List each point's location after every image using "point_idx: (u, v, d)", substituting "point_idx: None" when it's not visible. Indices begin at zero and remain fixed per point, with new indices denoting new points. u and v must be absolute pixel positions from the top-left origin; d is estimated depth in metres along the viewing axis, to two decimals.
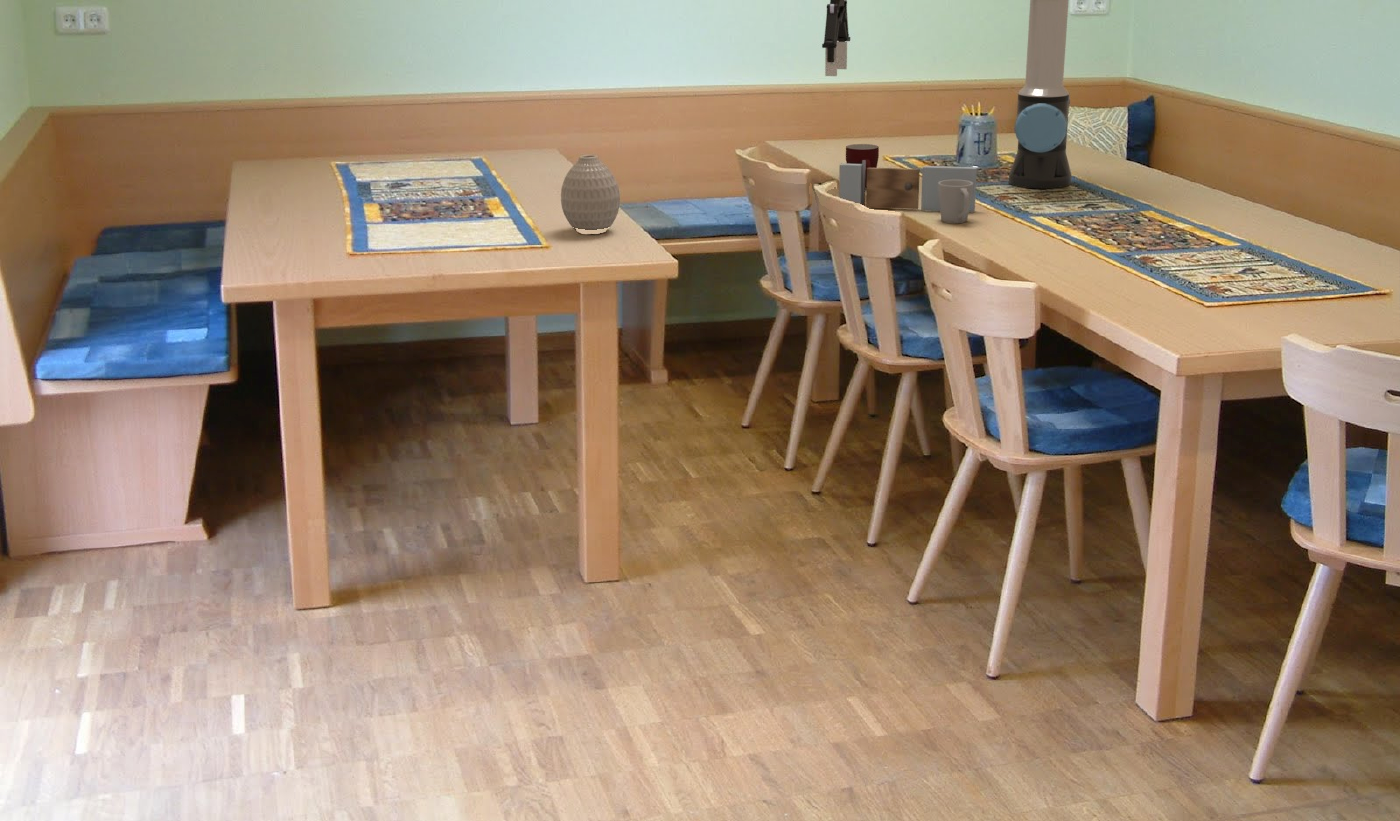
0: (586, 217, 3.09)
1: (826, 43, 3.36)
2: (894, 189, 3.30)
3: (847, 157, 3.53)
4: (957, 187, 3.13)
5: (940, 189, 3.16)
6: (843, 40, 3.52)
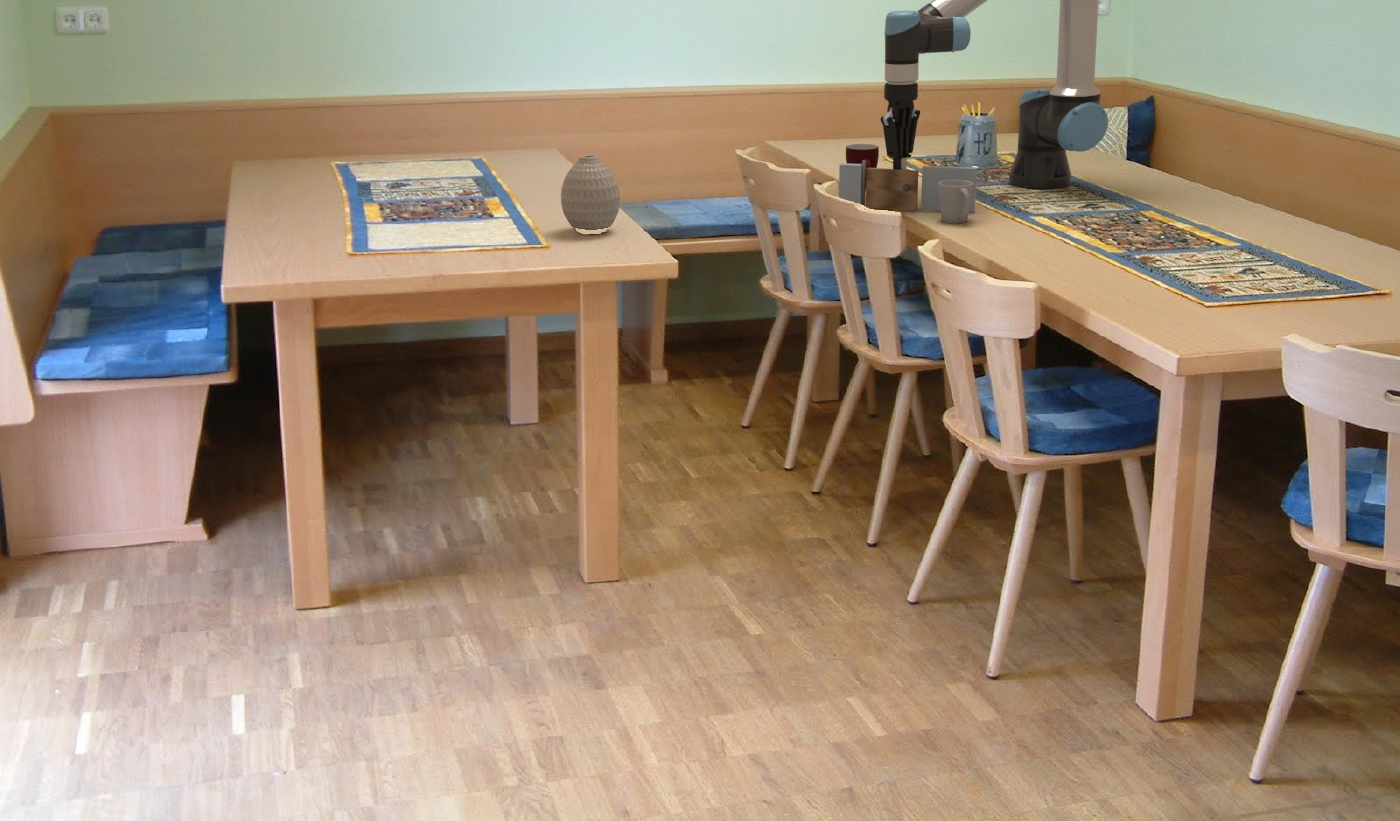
0: (586, 217, 3.09)
1: (889, 155, 3.27)
2: (893, 190, 3.29)
3: (847, 157, 3.53)
4: (957, 187, 3.13)
5: (940, 189, 3.16)
6: (902, 154, 3.29)
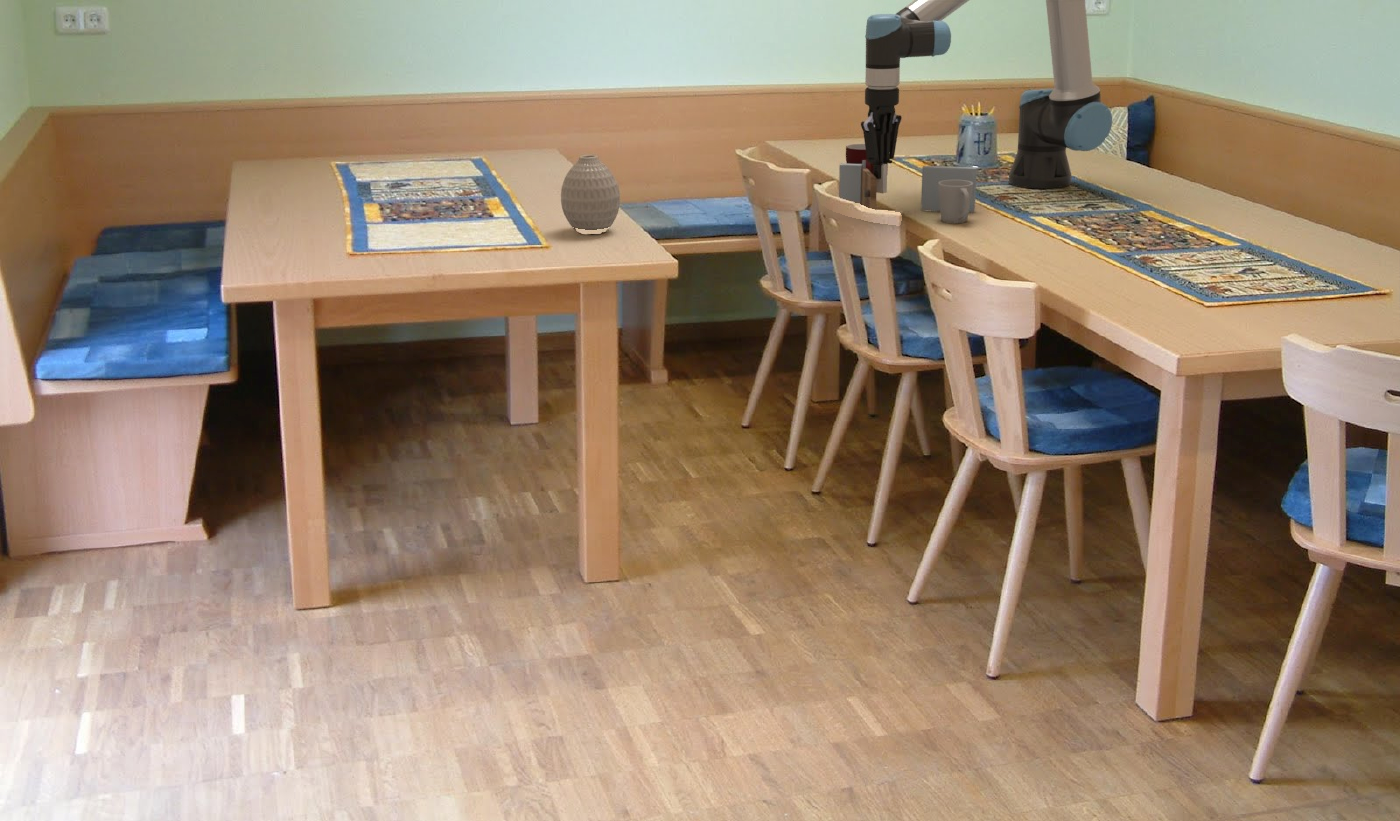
0: (586, 217, 3.09)
1: (869, 161, 3.22)
2: None
3: (847, 157, 3.53)
4: (957, 187, 3.13)
5: (940, 189, 3.16)
6: (883, 160, 3.24)
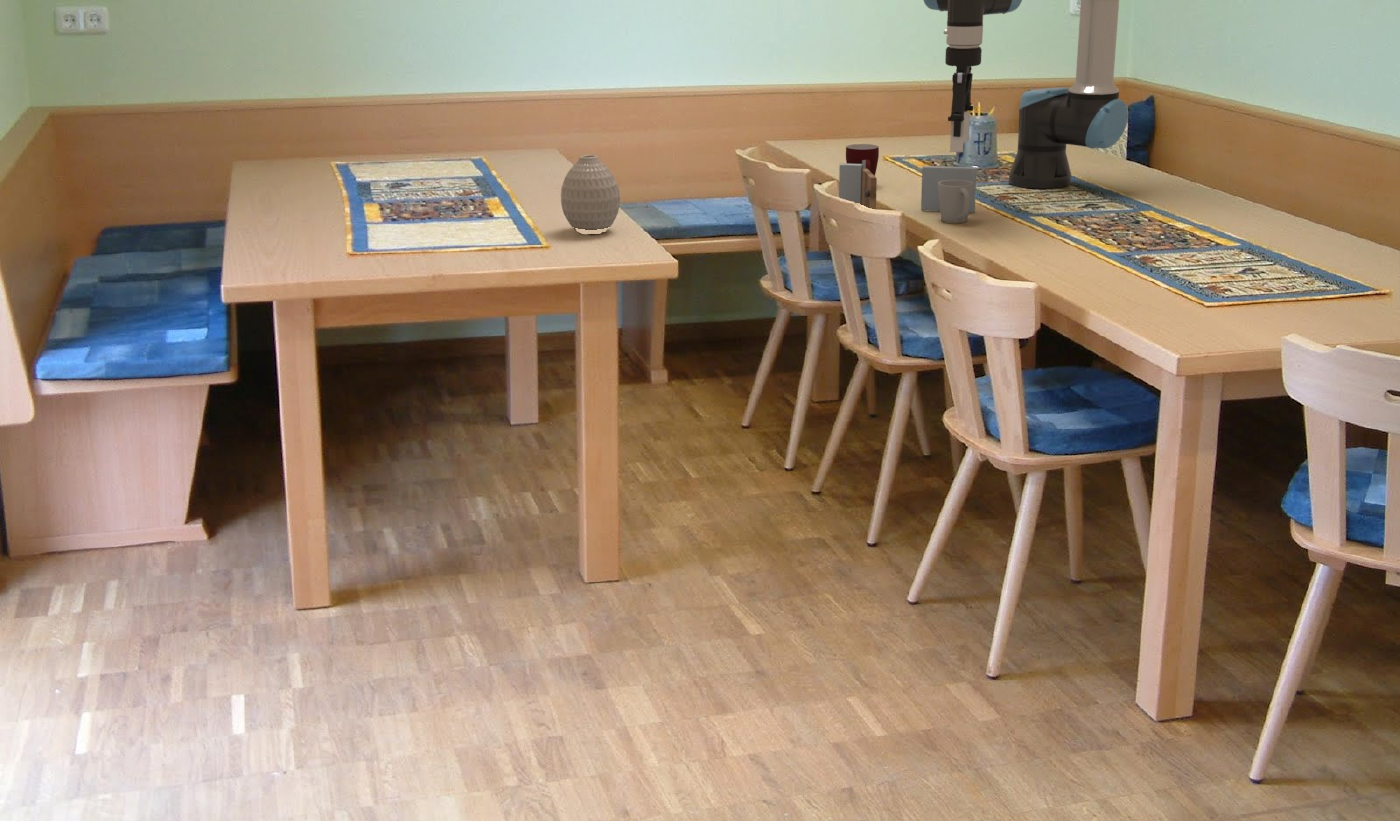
0: (586, 217, 3.09)
1: (953, 116, 3.01)
2: None
3: (847, 157, 3.53)
4: (957, 187, 3.13)
5: (940, 189, 3.16)
6: (965, 109, 3.17)
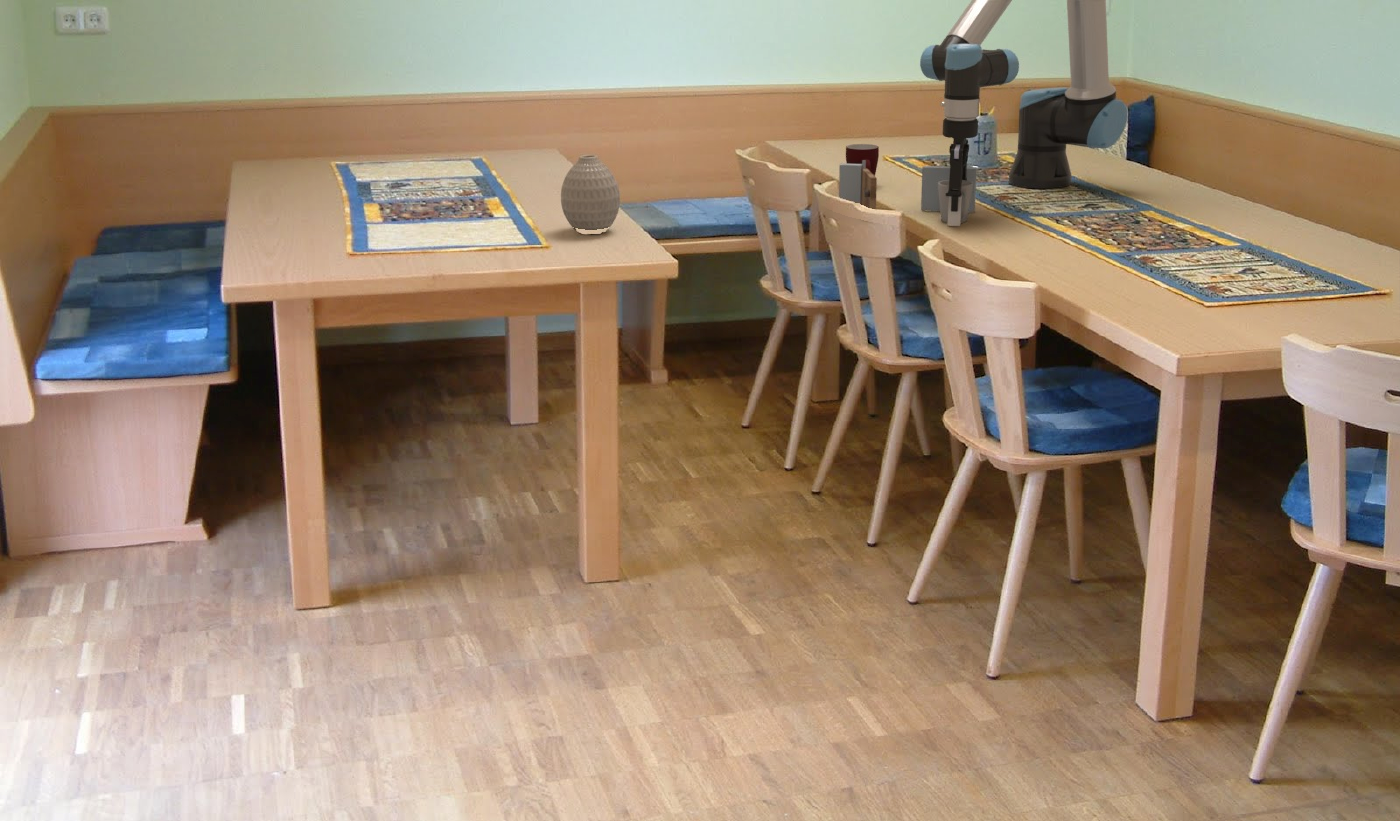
0: (586, 217, 3.09)
1: (951, 193, 3.09)
2: None
3: (847, 157, 3.53)
4: None
5: (940, 189, 3.16)
6: None
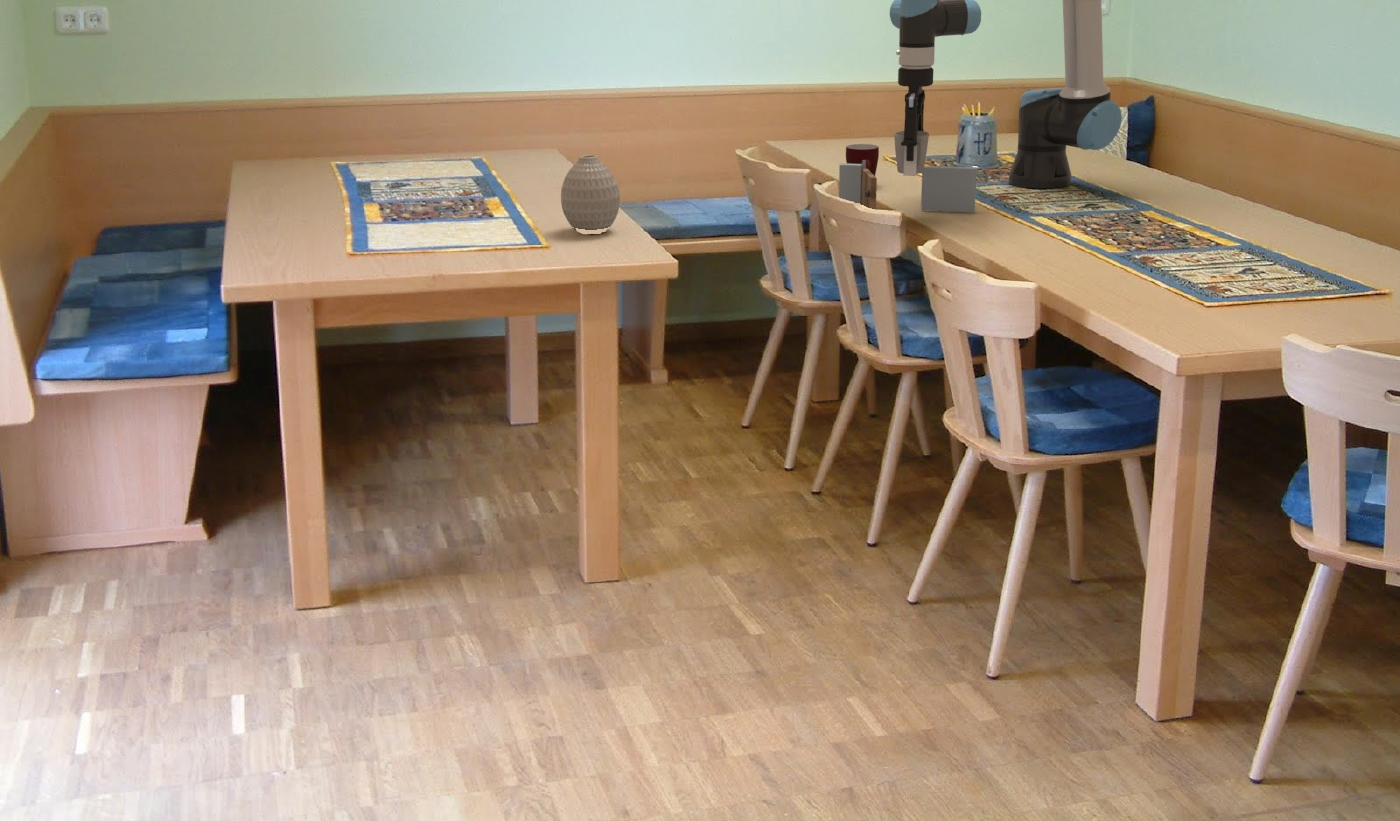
0: (586, 217, 3.09)
1: (906, 142, 3.08)
2: None
3: (847, 157, 3.53)
4: None
5: (896, 139, 3.14)
6: None
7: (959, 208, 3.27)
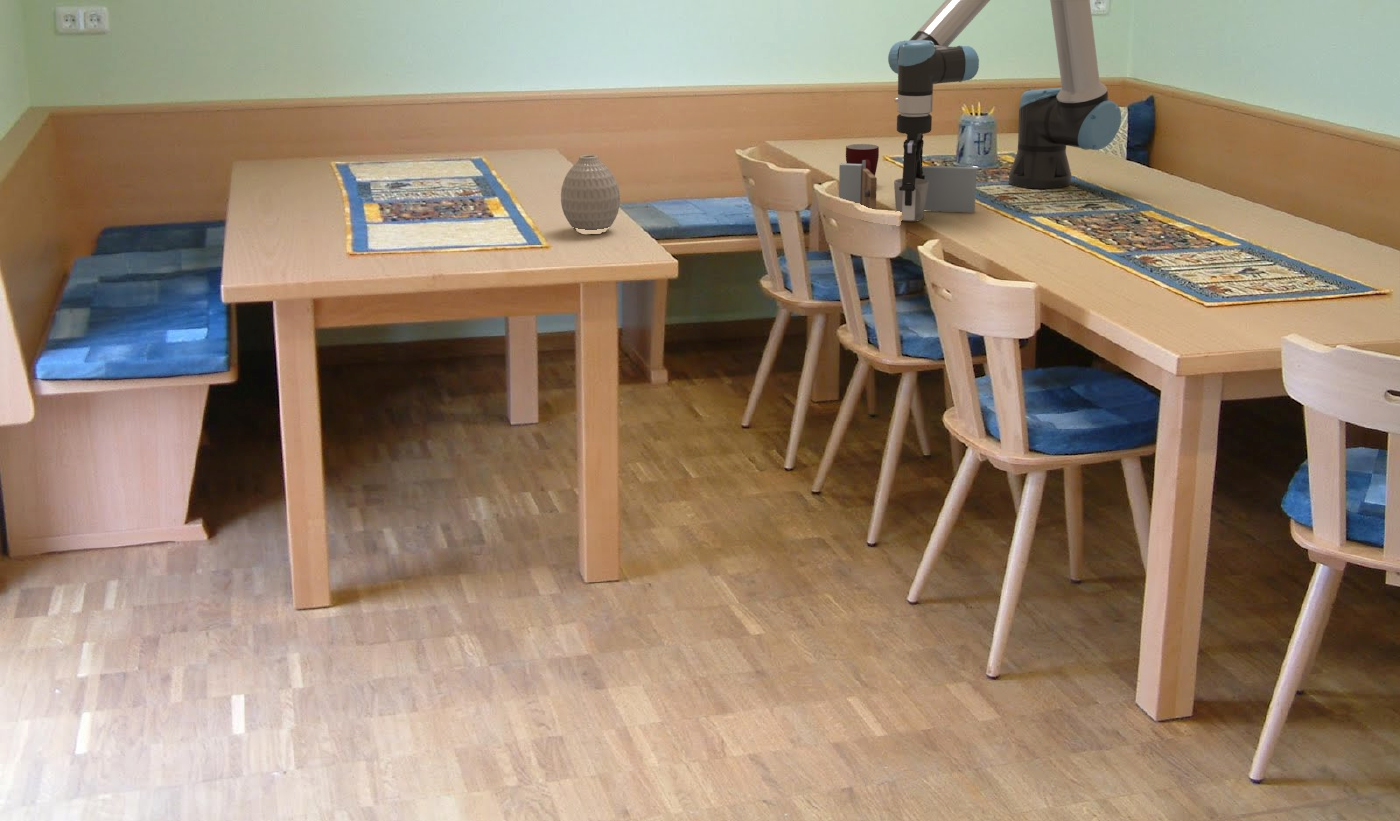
0: (586, 217, 3.09)
1: (904, 187, 3.10)
2: None
3: (847, 157, 3.53)
4: None
5: (896, 187, 3.18)
6: None
7: (959, 208, 3.27)
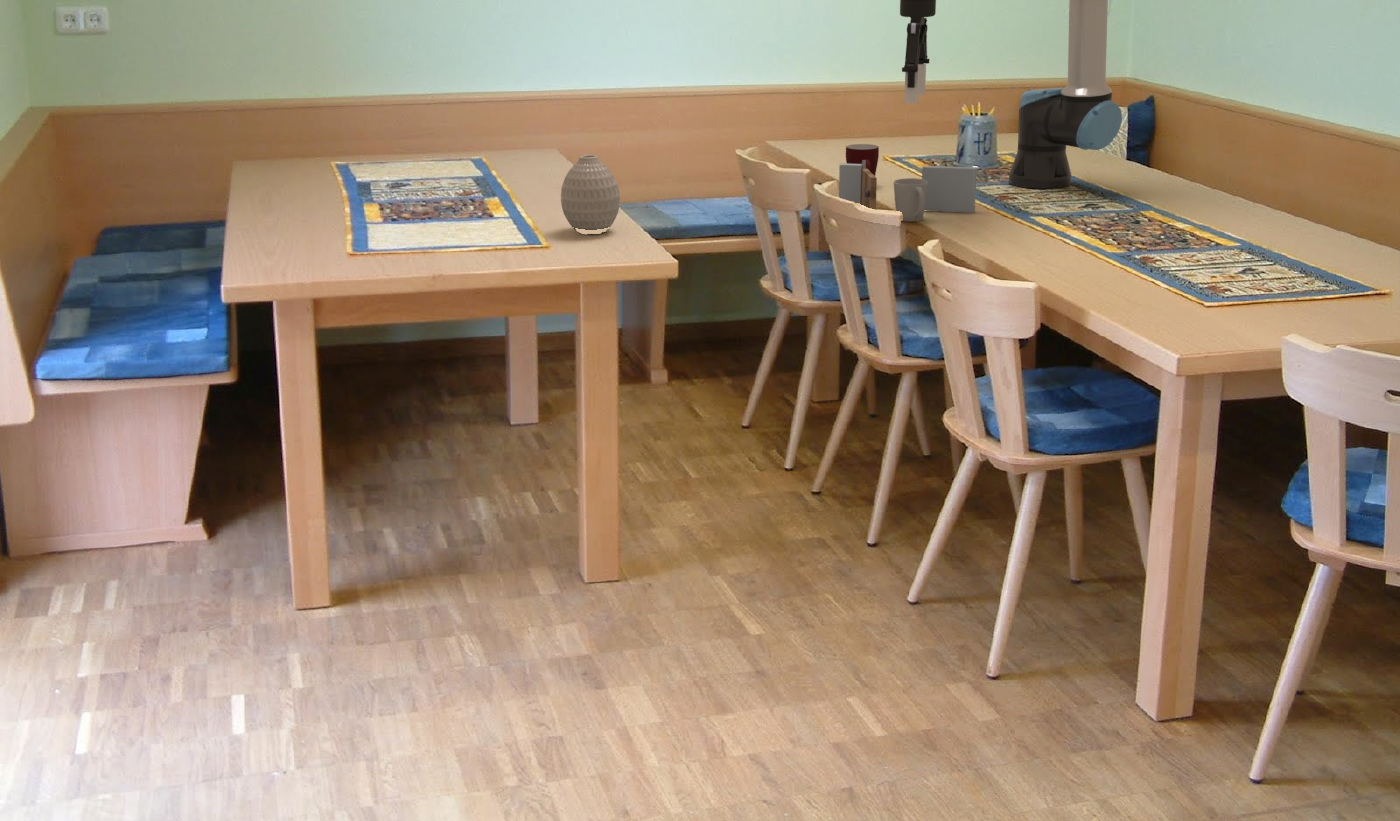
0: (586, 217, 3.09)
1: (907, 67, 3.00)
2: None
3: (847, 157, 3.53)
4: (912, 186, 3.16)
5: (895, 188, 3.18)
6: (921, 62, 3.16)
7: (959, 208, 3.27)
